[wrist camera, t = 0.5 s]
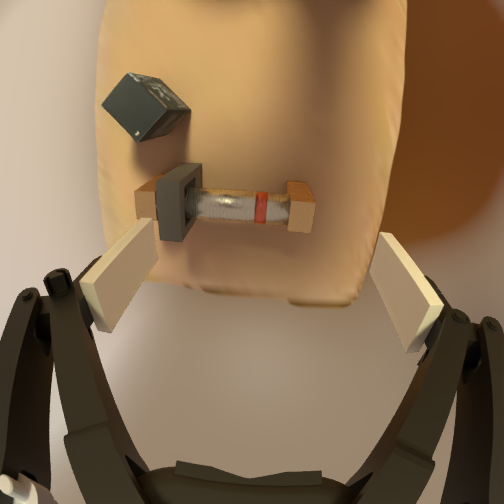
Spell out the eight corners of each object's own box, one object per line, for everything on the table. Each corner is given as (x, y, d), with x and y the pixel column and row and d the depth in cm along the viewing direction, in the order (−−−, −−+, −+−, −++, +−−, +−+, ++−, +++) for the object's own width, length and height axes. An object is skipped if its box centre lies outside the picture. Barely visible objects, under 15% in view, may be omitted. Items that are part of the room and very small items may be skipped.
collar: (183, 210, 43) (159, 240, 34) (182, 163, 40) (155, 181, 30) (201, 211, 43) (181, 242, 34) (201, 163, 39) (179, 181, 30)
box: (192, 109, 36) (167, 110, 27) (167, 135, 38) (136, 145, 29) (159, 77, 33) (126, 70, 24) (136, 103, 35) (99, 105, 26)
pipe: (161, 197, 43) (136, 219, 35) (160, 173, 41) (134, 191, 33) (303, 207, 42) (310, 233, 34) (306, 182, 40) (316, 203, 32)
